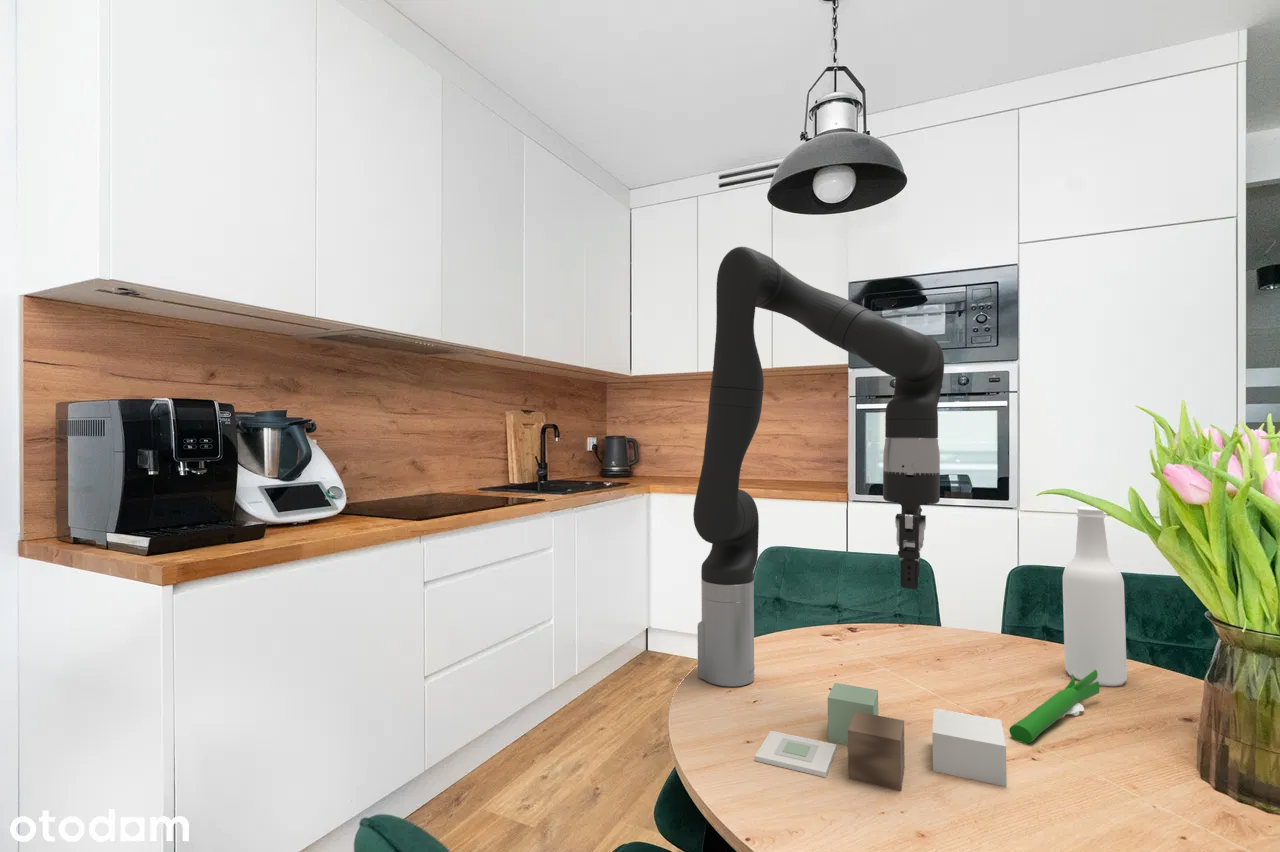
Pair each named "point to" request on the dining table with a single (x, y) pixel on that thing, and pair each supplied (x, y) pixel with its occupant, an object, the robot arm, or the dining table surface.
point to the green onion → (1055, 708)
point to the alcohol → (1094, 606)
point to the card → (797, 753)
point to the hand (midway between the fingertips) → (910, 581)
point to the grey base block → (969, 746)
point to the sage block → (848, 708)
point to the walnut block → (876, 750)
